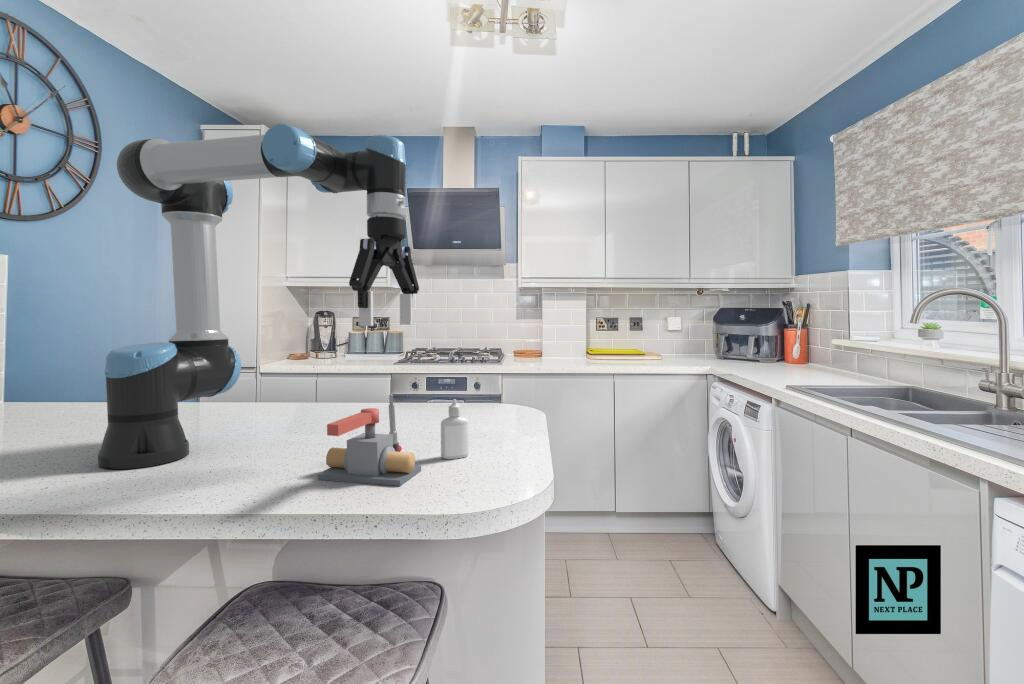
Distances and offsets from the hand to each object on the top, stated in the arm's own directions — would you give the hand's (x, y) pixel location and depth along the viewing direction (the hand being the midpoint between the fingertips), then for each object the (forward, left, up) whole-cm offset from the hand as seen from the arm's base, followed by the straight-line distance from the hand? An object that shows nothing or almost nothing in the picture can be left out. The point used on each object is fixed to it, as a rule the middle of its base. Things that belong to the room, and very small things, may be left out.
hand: (387, 325), depth 103 cm
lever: (+1, -15, -18) cm, 23 cm away
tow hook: (-4, +2, -28) cm, 28 cm away
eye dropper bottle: (+12, +5, -28) cm, 31 cm away
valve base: (+1, -10, -27) cm, 29 cm away
